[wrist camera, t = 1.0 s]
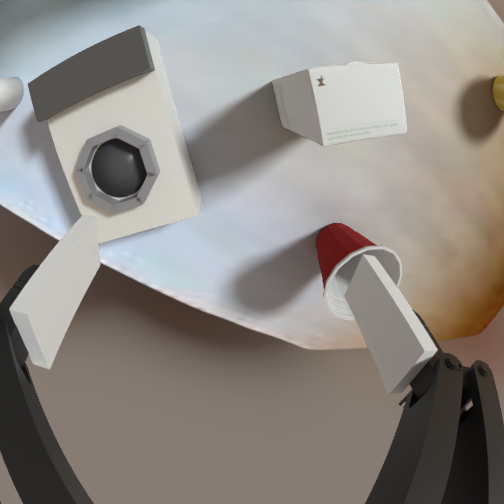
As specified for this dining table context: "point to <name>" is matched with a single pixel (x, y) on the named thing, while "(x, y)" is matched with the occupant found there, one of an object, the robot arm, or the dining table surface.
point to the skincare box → (342, 102)
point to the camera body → (119, 135)
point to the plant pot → (499, 92)
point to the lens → (10, 93)
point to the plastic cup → (348, 264)
